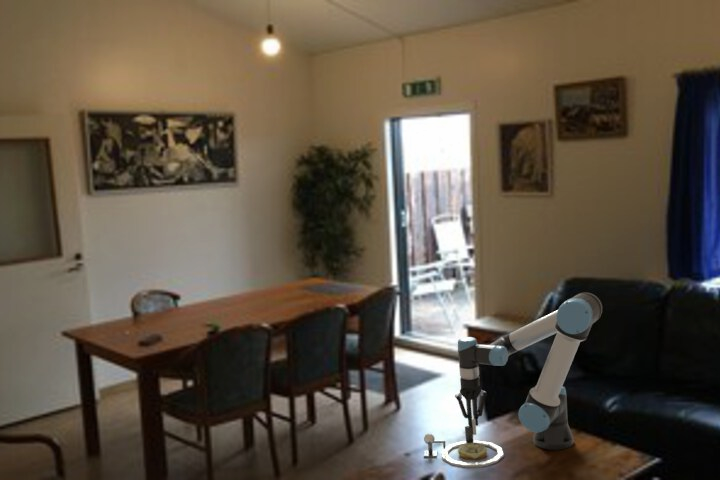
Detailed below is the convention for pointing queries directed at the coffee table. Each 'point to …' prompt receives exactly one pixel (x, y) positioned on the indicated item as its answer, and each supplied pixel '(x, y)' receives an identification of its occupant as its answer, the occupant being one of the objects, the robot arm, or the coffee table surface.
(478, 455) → the decorated donut
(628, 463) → the coffee table surface
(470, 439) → the ring
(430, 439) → the dial indicator
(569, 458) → the coffee table surface
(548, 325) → the robot arm
